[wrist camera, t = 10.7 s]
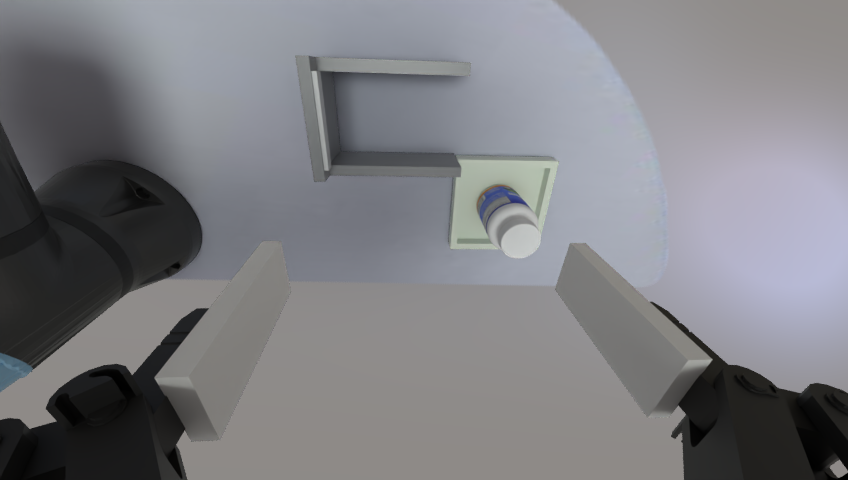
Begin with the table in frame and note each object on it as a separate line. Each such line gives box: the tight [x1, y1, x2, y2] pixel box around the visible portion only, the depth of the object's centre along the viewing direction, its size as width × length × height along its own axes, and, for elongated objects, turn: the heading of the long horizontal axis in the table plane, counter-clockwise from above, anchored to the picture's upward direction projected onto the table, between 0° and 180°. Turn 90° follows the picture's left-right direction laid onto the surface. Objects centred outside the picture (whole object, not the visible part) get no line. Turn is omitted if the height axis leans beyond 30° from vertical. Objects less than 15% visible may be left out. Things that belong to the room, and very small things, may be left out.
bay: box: [295, 56, 471, 182], centre depth 30 cm, size 14×10×8 cm
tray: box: [448, 155, 559, 249], centre depth 38 cm, size 12×12×2 cm
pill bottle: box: [477, 184, 541, 259], centre depth 34 cm, size 5×5×10 cm
